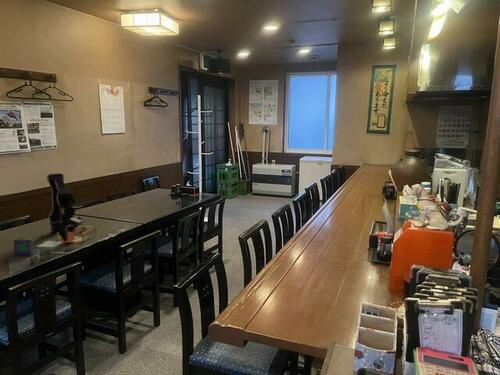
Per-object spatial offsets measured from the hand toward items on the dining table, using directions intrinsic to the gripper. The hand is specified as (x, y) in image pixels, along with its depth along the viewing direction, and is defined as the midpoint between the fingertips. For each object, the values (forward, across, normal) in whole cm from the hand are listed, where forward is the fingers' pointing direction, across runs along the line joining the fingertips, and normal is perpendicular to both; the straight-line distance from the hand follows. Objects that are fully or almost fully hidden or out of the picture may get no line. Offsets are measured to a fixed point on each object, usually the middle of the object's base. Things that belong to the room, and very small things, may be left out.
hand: (67, 239), depth 208 cm
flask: (+3, -19, +13) cm, 23 cm away
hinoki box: (+3, +10, 0) cm, 11 cm away
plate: (+3, -3, +9) cm, 10 cm away
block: (+1, 0, 0) cm, 1 cm away
